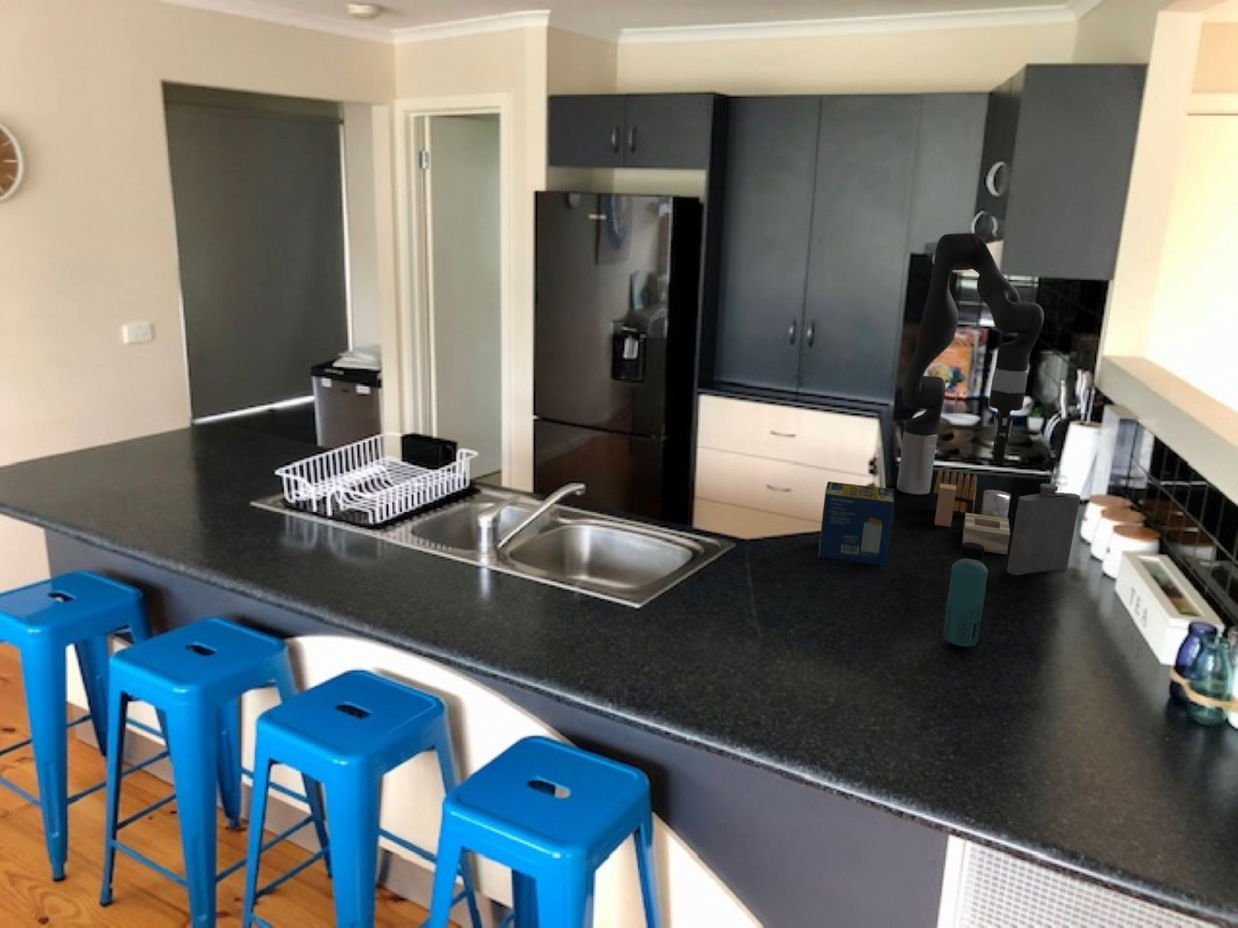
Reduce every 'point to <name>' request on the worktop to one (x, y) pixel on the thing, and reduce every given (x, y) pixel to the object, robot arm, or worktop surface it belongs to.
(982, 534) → the socket block
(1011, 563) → the hip flask
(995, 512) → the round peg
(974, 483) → the ammunition clip
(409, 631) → the worktop surface
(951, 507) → the square peg
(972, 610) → the beverage bottle
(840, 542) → the protein box
